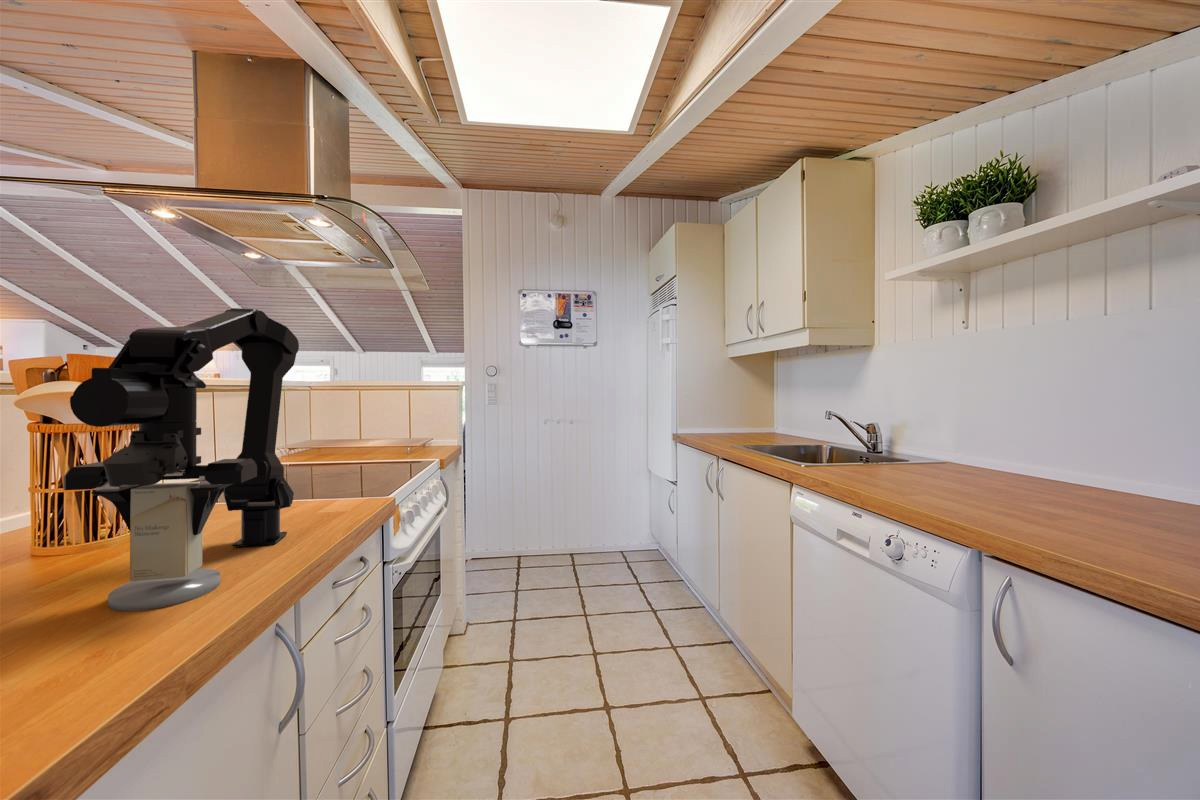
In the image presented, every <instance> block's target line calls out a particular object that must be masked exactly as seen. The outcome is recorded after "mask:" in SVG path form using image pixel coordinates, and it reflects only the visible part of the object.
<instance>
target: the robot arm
mask: <svg viewBox="0 0 1200 800" xmlns="http://www.w3.org/2000/svg"><path fill="white" fill-rule="evenodd" d="M128 337H129V339H128V340H127V341H126V342H125V344H124V346H122V347H121V349H120V351H119V352H118V354H117V355H116V357H115V358H114V359H113V361H112V363H110V365H109V366H108V367H93V368H91V378H90V377H89V378H87V379H86V380H84V381H82V382H81V383H79V385H78V386H77V387H76V388H75V389H74V391H73V394H72V395H71V396H70V398H69V404H70V405H69V406H70V409H71V411H72V413H73V415H74V417H76V418H77V419H78V421H80V422H82V423H84V424H85V425H87V426H91V427H95V428H100V427H101V428H102V427H104V428H105V427H117V426H129V425H138V429H137V430H132V431H131V434H130V436H129V443H128V445H127V446H126V447H123V448H120V449H118V451H115V452H114V453H113V454H111V455H110V456H108V457H107V458H105V459H104V460H103V461H98V462H91V463H86V464H81V465H76V466H71V467H70V468H69V469H68V470H67V471H66V472H65V474H64V475H63V476H62V477H63V479H62V480H63V491H81V490H82V491H85V490H92V491H90V493H91V495H92V496H94V497H96V496H97V497H102V498H103V499H106V500H107V501H109V502H111V503H112V504H113V506H114V507H115V509H116V510H117V511H118V513H119V514H120V516H121V518H122V519H123V521H124V523H125V525H126V527H127V529H128V530H129V532H130V504H131V489H133V488H137V487H141V486H148V485H153V484H158V483H160V481H168V480H174V481H175V480H194V479H195V480H197V479H198V482H200V485H198V486H195V487H193V488H190V491H191V493H192V495H193V497H194V509H193V524H192V526H193V535H198V534H200V533H201V531H202V532H203V529H204V527H205V525H206V523H207V522H208V519H209V517H210V515H211V513H212V511H213V510H214V507H215V505H216V504H217V502H218V500H219V499H220V497H221V495H222V494H223V496H224V500H225V504H226V505H225V506H226V508H227V511H228V512H232V511H241V515H240V516H241V525H240V526H241V528H240V533H241V535H240V536H241V538H239V539H238V540H237V541H235V542H234V543H232V547H233V548H237V547H238V548H239V547H253V546H267V545H274V544H277V543H278V542H279V541H281V540H282V539H283V538H284V537H286V536H287V535H286V534H288V531H281V510H282V509H286V508H290V507H291V506H292V504H293V501H294V491H293V489H292V487H291V486H290V485H289V483H288V482H287V480H286V479H285V477H284V476H285V469H284V468H285V467H284V465H283V463H282V462H281V461H280V459H279V458H278V456H277V454H276V446H277V436H278V435H277V434H278V429H279V428H278V425H279V416H280V407H281V406H280V405H281V400H282V399H281V398H282V397H281V396H282V387H283V380H284V377H285V376H286V375H287V374H288V372H289V371H290V370H291V369H292V368H293V366H295V363H296V358H297V357H296V356H297V353H298V352H299V348H300V344H299V340H298V338H297V336H296V335H295V334H294V333H293V332H292V330H290V329H289V327H288V326H286V325H285V324H282V323H280V322H278V321H276V320H274V319H272V318H270V317H268V315H267V314H266V313H265V312H264V311H263V310H259V309H257V308H239V307H237V308H236V307H235V308H230V309H226V310H225V311H224V312H222V313H219V314H216V315H213V316H210V317H207V318H204V319H200V320H198V321H195V322H192V323H190V324H186V325H183V326H182V325H181V326H163V327H162V326H158V327H157V326H156V327H146V328H145V327H144V328H138V329H135V330H134V331H132V332H131V333H130V334H129V336H128ZM230 344H234V345H235V346H236V347H238V348H239V349H240V350H241V360H242V361H243V362H244V364H245V366H246V368H247V369H248V371H249V373H250V375H249V376H250V378H249V387H248V396H247V404H246V411H245V412H246V413H245V421H244V429H243V439H242V446H241V452H240V454H238V455H237V457H236V458H223V459H220V460H216V461H213V462H209V463H208V464H203V465H199V464H202V456H201V455H197V436H201V435H202V427H197V410H198V409H197V407H198V406H197V405H198V404H197V403H198V402H197V399H198V398H197V394H198V392H197V389H202V390H203V389H206V387H207V384H206V383H205V382H204V381H203V380H202V379H200V378H199V377H197V375H196V374H195V372H199V371H200V370H202V369H203V368H204V367H205V366H207V365H208V364H209V363H210V362H211V361H213V360H214V355H213V354H214V352H216V351H218V350H219V349H221V348H224V347H225V346H229V345H230ZM94 489H95V490H94ZM282 537H283V538H282ZM281 538H282V539H281Z"/></svg>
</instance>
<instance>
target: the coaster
mask: <svg viewBox="0 0 1200 800" xmlns="http://www.w3.org/2000/svg"><path fill="white" fill-rule="evenodd" d="M220 584H221V573H220V571H219V570H217V569H212V568H202V567H199V568H198V569H196V570H194V571H193V572H191V573H190V574H188V575H186V576H184V577H178V578H165V579H153V580H139V581H129V582H127V583H123V584H122V585H119V586H118V587H116V588H115V589H112V590H111V591H110V592H109V593H108V595H107V607H108V609H110V610H113V611H116V612H139V611H141V612H143V611H149V610H154V609H161V608H165V607H169V606H174V605H177V604H181V603H184V602H185V603H186V602H189V601H192V600H194V599H198V598H199V597H201V596H204V595H206V594H208V593H210V592H212V591H214V590H215V589H217V588H218V586H219V585H220Z"/></svg>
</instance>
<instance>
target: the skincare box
mask: <svg viewBox="0 0 1200 800" xmlns="http://www.w3.org/2000/svg"><path fill="white" fill-rule="evenodd" d="M198 485H200V481H187V482H184V481H182V482H181V481H180V482H165V483H163V482H161V483H160V482H158V483H156V484H153V485H148V486H141V487H137V488H133V489H131V504H130V531H129V582H132V581H139V580H153V579H165V578H178V577H184V576H186V575H188V574H190V573H191V572H193V571H194V570H196V569H198V568H202V566H203V530H202V531H201V533H200V534H198V535H193V526H192V524H193V509H194V497H193V495H192V493H191V491H190V488H193V487H195V486H198Z"/></svg>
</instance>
